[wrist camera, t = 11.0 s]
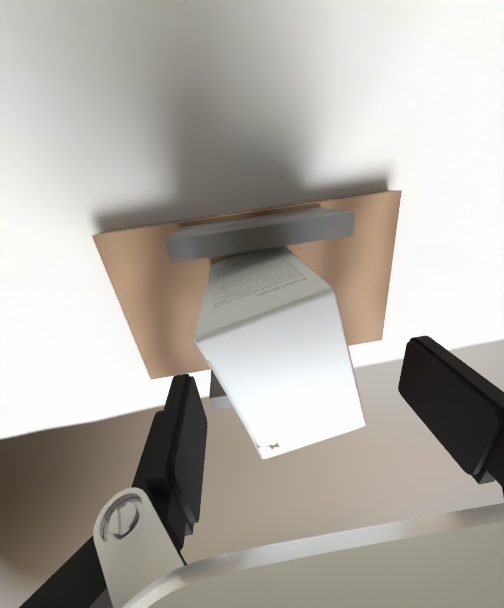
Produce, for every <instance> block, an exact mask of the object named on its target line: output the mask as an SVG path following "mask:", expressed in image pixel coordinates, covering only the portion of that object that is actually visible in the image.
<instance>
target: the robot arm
mask: <svg viewBox="0 0 504 608" xmlns="http://www.w3.org/2000/svg"><path fill="white" fill-rule="evenodd" d="M398 389H399V392H400V394H401V396H402V397H403V398H404V399H405V401H406V402H407V403H408V404H409V405H410V407H411V408H412V409H413V410H414V412H415V413H416V414H417V415H418V416H419V418H420V419H421V420H422V421H423V422H424V423H425V424H426V426H427V427H428V428H429V429H430V431H431V432H432V433H433V434H434V435H435V437H436V438H437V439H438V440H439V442H440V443H441V444H442V445H443V446H444V448H445V449H446V450H447V451H448V452H449V453H450V455H451V456H452V457H453V458H454V460H455V461H456V462H457V463H458V464H459V465H460V467H461V468H462V469H463V470H464V471H465V472H466V473H467V474H470V475H472V477H473V478H474V479H475V480H476V481H477V482H478V484H483V483H488V482H493V481H495V480H496V481H497V482H498V483H499V484H500V485H501V486H502V490H503V497H504V392H503V391H501V390H500V389H499V388H498V387H496V386H495V385H493V384H492V383H491V382H489V381H488V380H487V379H485V378H484V377H483V376H481V375H480V374H479V373H477V372H476V371H474V370H473V369H472V368H471V367H469V366H468V365H466V364H465V363H464V362H462V361H461V360H460V359H458V358H457V357H456V356H454V355H453V354H452V353H450V352H449V351H448V350H446V349H445V348H444V347H442V346H441V345H440V344H438V343H437V342H435V341H434V340H433V339H431V338H430V337H428V336H421V337H414V338H411V339H410V341H409V342H408V343H407V345H406V350H405V356H404V361H403V366H402V371H401V376H400V381H399V386H398ZM206 436H207V418H206V415H205V412H204V409H203V405H202V402H201V399H200V396H199V392H198V389H197V386H196V383H195V379H194V377H193V376H192V377H190V376H189V374H182V375H176V376H174V377H173V380H172V383H171V387H170V390H169V394H168V397H167V400H166V404H165V407H164V410H163V411H158V412H157V413H156V414H155V417H154V419H153V422H152V426H151V429H150V432H149V435H148V438H147V441H146V444H145V447H144V450H143V453H142V456H141V460H140V462H139V465H138V469H137V472H136V475H135V478H134V481H133V484H132V487H131V488H128V489H126V490H123V491H121V492H120V493H118V494H117V495H115V496H114V497H113V498H112V499H111V500H110V501H109V502H108V503H107V504H106V505H105V507H104V508H103V509H102V511H101V512H100V514H99V516H98V519H97V520H96V523H95V527H94V531H93V536H92V537H91V538H90V539H89V540H88V541H87V542H86V543H85V544H84V545H83V546H82V547H81V548H80V549H79V550H78V551H77V552H76V553H75V554H74V555H73V556H72V557H71V558H70V559H69V560H67V561H66V563H64V565H62V566H61V567H60V568H59V569H58V570H57V571H56V572H55V573H54V574H53V575H52V576H51V577H50V578H49V579H48V580H47V581H46V582H45V583H44V584H43V585H42V586H41V587H40V588H39V589H38V590H37V591H36V592H35V593H34V594H33V595H32V596H31V597H30V598H29V599H28V600H27V601H26V602H24V603H23V605H21V606H20V607H19V608H504V503H502V504H496V505H490V506H485V507H478V508H472V509H467V510H461V511H455V512H449V513H443V514H437V515H432V516H426V517H420V518H415V519H409V520H404V521H398V522H392V523H387V524H381V525H375V526H370V527H364V528H358V529H353V530H347V531H342V532H336V533H331V534H325V535H320V536H314V537H309V538H304V539H298V540H293V541H287V542H282V543H276V544H271V545H266V546H261V547H257V548H251V549H246V550H242V551H237V552H232V553H227V554H222V555H219V556H215V557H211V558H207V559H204V560H200V561H196V562H193V563H191V564H188V565H187V563H186V561H185V560H184V558H183V556H182V555H181V552H180V550H181V549H182V548H183V544H184V537H185V536H186V535H192V534H193V526H194V523H197V522H198V521H199V515H200V504H201V493H202V482H203V470H204V459H205V448H206Z"/></svg>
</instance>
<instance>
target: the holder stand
mask: <svg viewBox="0 0 504 608" xmlns="http://www.w3.org/2000/svg"><path fill="white" fill-rule="evenodd" d="M400 198H401V191H382V192H375V193H369V194H362V195H355V196H348V197H341V198H334V199H327V200H321V201H314V202H307V203H300V204H293V205H286V206H279V207H273V208H266V209H259V210H252V211H245V212H238V213H231V214H224V215H218V216H211V217H204V218H197V219H190V220H183V221H176V222H170V223H163V224H156V225H149V226H142V227H135V228H128V229H122V230H115V231H108V232H102V233H99V234H96V235H93V236H92V237H93V239H94V242H95V244H96V247H97V249H98V252H99V254H100V256H101V259H102V261H103V264H104V266H105V269H106V271H107V274H108V276H109V278H110V281H111V283H112V286H113V288H114V291H115V293H116V295H117V298H118V300H119V303H120V305H121V308H122V310H123V313H124V315H125V317H126V320H127V322H128V325H129V327H130V330H131V332H132V335H133V337H134V339H135V342H136V344H137V347H138V349H139V352H140V354H141V356H142V359H143V361H144V364H145V366H146V369H147V371H148V374H149V376H150V378H151V379H156V378H162V377H168V376H174V375H180V374H185V373H191V372H197V371H203V370H209V369H211V368H210V366H209V364H208V363H207V361H206V360H205V358H204V357H203V355H202V354H201V352H200V351H199V349H198V348H197V346H196V345H195V343H194V337H195V333H196V329H197V324H198V320H199V315H200V310H201V306H202V301H203V297H204V292H205V288H206V283H207V279H208V275H209V270H210V266H211V265H212V264H215V263H217V262H220V261H222V260H224V259H227V258H230V257H232V256H235V255H237V254H240V253H242V252H248V251H255V250H261V249H268V248H274V247H281V246H286V247H287V248H288V249H289V250H290V251H291V252H292V253H294V254H295V255H296V256H297V257H298V258H299V259H300V260H302V261H303V262H304V263H305V264H306V265H308V266H309V267H310V268H311V269H312V270H313V271H314V272H315V273H317V274H318V275H319V276H320V277H321V278H323V279H324V280H325V281H326V282H327V283H328V284H329V285H331V286H332V287H333V288H334V289H335V290H336V296H337V301H338V305H339V309H340V313H341V318H342V322H343V326H344V331H345V335H346V340H347V344H348V346H349V345H355V344H360V343H366V342H372V341H378V340H382V335H383V327H384V320H385V312H386V304H387V297H388V289H389V282H390V274H391V266H392V259H393V251H394V244H395V236H396V228H397V221H398V213H399V206H400ZM210 402H211V406H212V409H213V410H217V409H223V408H228V407H234V406H233V405H232V403H231V401H230V400H229V398H228V396H227V394H226V393H225V391H224V389H223V388H222V386H221V384H220V382H219V381H218V379H217V377H216V376H215V374H214V372H213V371H212V370H211V384H210Z"/></svg>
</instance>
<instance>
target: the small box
mask: <svg viewBox="0 0 504 608" xmlns="http://www.w3.org/2000/svg"><path fill="white" fill-rule="evenodd" d="M194 343H195V345H196V346H197V348H198V349H199V351H200V352H201V354H202V355H203V357H204V358H205V360H206V361H207V363H208V364H209V366H210V368H211V369H212V371H213V372H214V374H215V376H216V377H217V379H218V381H219V382H220V384H221V386H222V388H223V389H224V391H225V393H226V394H227V396H228V398H229V400H230V401H231V403H232V405H233V406H234V408H235V410H236V412H237V413H238V415H239V417H240V419H241V420H242V422H243V423H244V425H245V427H246V429H247V431H248V433H249V434H250V436H251V438H252V440H253V442H254V444H255V446H256V449H257V451H258V453H259V454H260V457H261V458H262V459H266V458H269V457H273V456H275V455H279V454H282V453H285V452H288V451H291V450H294V449H297V448H300V447H303V446H306V445H309V444H312V443H316V442H319V441H321V440H324V439H327V438H330V437H334V436H336V435H340V434H343V433H346V432H349V431H352V430H355V429H357V428H360V427H363V426H365V425H366V420H365V416H364V412H363V407H362V403H361V400H360V395H359V391H358V386H357V382H356V378H355V374H354V369H353V365H352V361H351V357H350V352H349V348H348V344H347V340H346V335H345V331H344V326H343V322H342V318H341V313H340V309H339V305H338V301H337V296H336V290H335V289H334V288H333V287H332V286H331V285H329V284H328V283H327V282H326V281H325V280H324V279H323V278H321V277H320V276H319V275H318V274H317V273H315V272H314V271H313V270H312V269H311V268H310V267H309V266H308V265H306V264H305V263H304V262H303V261H302V260H300V259H299V258H298V257H297V256H296V255H295V254H294V253H292V252H291V251H290V250H289V249H288V248H287V247H286V246H281V247H274V248H268V249H261V250H255V251H248V252H242V253H240V254H237V255H235V256H232V257H230V258H227V259H224V260H222V261H220V262H217V263H215V264H212V265H211V266H210V270H209V275H208V279H207V283H206V288H205V292H204V297H203V301H202V306H201V310H200V315H199V320H198V324H197V329H196V333H195V337H194Z"/></svg>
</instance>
